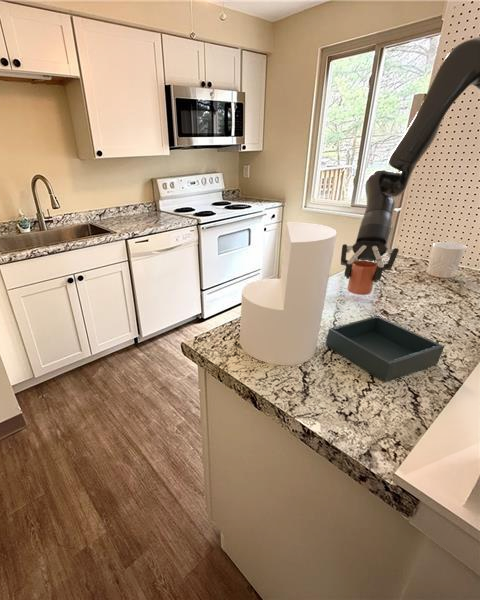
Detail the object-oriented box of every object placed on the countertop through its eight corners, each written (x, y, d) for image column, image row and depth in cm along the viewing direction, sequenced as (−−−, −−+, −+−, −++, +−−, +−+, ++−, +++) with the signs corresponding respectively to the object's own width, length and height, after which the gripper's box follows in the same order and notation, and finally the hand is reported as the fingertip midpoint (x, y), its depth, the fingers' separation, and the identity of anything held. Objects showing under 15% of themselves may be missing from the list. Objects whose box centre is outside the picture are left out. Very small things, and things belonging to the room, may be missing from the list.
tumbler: (358, 285, 96) (363, 259, 92) (376, 292, 91) (382, 264, 87) (342, 289, 95) (347, 262, 91) (360, 296, 89) (366, 268, 86)
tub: (372, 331, 77) (377, 315, 75) (437, 364, 64) (444, 346, 62) (325, 345, 74) (328, 328, 72) (384, 382, 61) (389, 364, 59)
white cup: (454, 280, 98) (465, 250, 94) (422, 275, 103) (431, 246, 99) (457, 273, 102) (468, 243, 98) (426, 268, 108) (435, 240, 104)
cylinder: (311, 329, 80) (329, 221, 68) (320, 370, 66) (345, 242, 54) (241, 323, 86) (247, 222, 74) (236, 359, 72) (242, 242, 60)
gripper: (346, 221, 94) (332, 270, 91) (407, 223, 86) (394, 277, 83) (346, 234, 100) (333, 280, 97) (402, 237, 92) (390, 288, 88)
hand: (361, 279), depth 90 cm, fingers closed on tumbler, 6 cm apart
